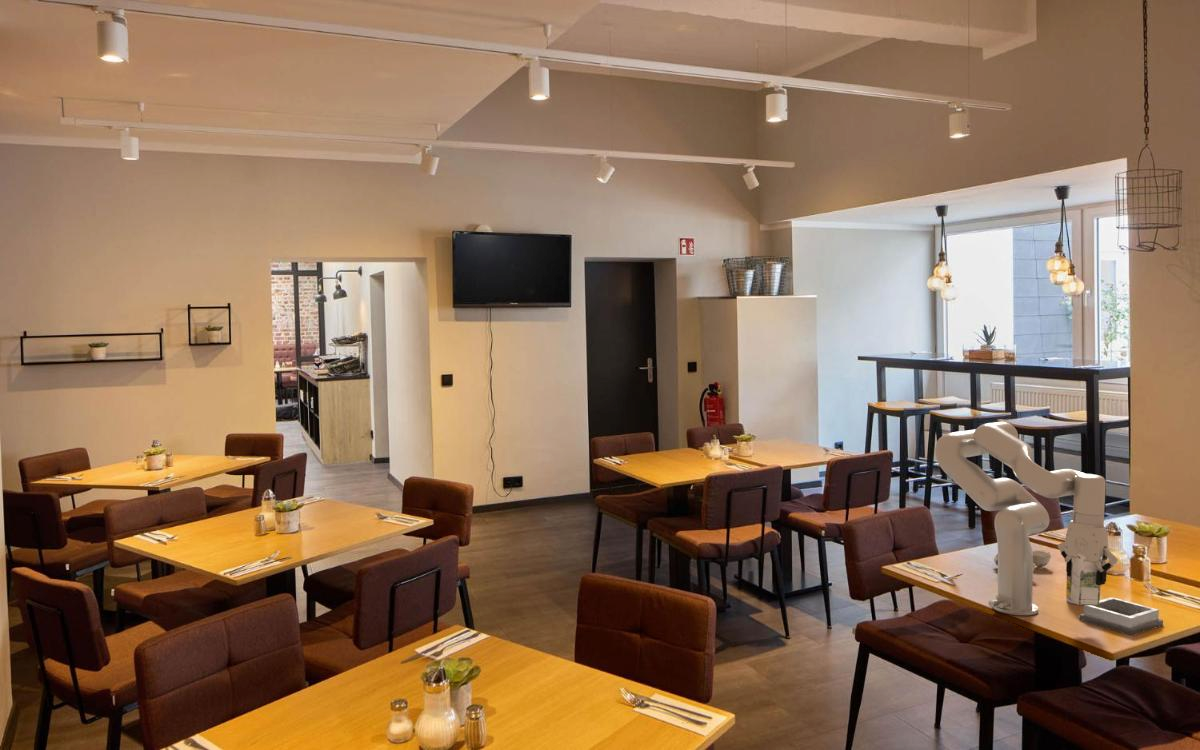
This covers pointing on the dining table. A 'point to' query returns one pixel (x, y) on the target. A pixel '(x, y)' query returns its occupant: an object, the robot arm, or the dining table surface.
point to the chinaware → (1036, 559)
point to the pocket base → (1122, 616)
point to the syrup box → (1084, 581)
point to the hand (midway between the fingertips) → (1085, 579)
